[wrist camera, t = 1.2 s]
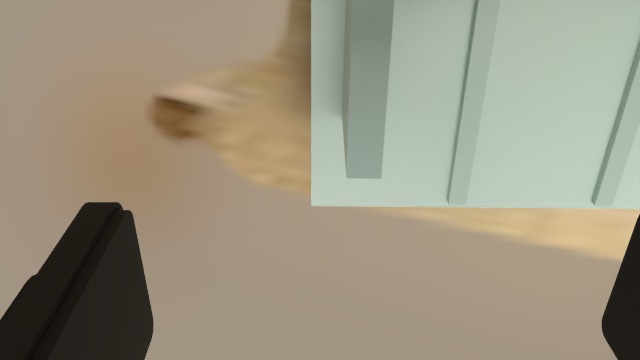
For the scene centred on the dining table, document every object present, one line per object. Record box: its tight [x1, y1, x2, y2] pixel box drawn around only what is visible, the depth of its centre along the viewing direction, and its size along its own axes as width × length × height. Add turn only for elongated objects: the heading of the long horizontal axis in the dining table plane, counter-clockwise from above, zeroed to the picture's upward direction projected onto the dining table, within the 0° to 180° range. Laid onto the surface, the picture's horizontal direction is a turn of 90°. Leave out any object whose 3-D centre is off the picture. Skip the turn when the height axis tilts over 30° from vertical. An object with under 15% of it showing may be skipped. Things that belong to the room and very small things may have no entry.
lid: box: [311, 0, 640, 209], centre depth 21 cm, size 20×15×7 cm
